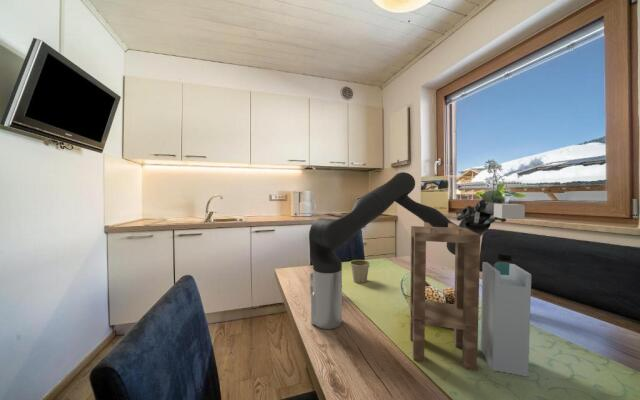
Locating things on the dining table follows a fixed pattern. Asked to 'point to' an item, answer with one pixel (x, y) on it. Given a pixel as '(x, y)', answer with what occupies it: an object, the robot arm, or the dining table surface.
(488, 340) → the box
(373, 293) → the dining table surface
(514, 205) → the light grey bar
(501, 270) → the beverage bottle
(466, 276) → the walnut stand
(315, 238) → the robot arm
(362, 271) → the flower pot
